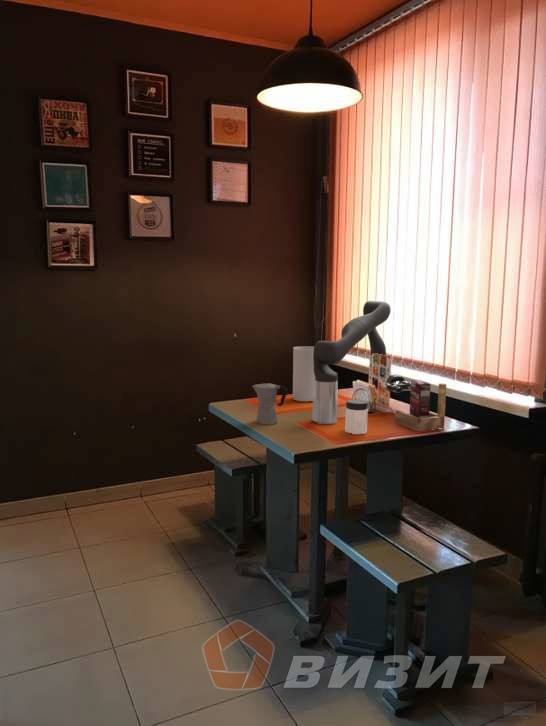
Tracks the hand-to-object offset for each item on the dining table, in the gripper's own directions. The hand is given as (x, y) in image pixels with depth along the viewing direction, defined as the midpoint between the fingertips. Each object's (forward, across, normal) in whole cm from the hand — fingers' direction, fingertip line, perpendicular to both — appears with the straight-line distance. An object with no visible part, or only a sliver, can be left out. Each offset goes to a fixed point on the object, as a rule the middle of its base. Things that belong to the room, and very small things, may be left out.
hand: (409, 390), depth 251 cm
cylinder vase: (-44, -33, +13) cm, 56 cm away
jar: (+14, -28, +13) cm, 34 cm away
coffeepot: (-6, -58, +13) cm, 60 cm away
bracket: (+10, 0, +12) cm, 16 cm away
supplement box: (+10, 0, +11) cm, 15 cm away
